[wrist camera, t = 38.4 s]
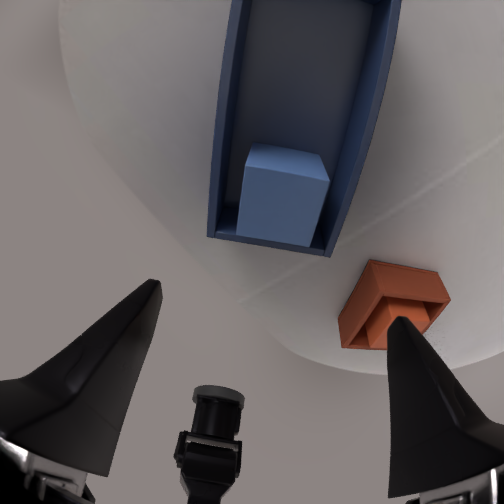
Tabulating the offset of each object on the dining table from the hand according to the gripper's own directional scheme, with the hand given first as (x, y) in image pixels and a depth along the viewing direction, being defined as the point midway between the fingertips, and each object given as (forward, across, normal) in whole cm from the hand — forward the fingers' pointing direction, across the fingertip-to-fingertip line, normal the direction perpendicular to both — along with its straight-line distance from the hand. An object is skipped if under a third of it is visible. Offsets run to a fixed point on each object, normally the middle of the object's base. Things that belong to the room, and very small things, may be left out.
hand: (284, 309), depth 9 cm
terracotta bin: (+10, -12, +8) cm, 17 cm away
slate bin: (+10, 0, -6) cm, 11 cm away
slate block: (+10, 0, -1) cm, 10 cm away
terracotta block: (+10, -12, +8) cm, 17 cm away
